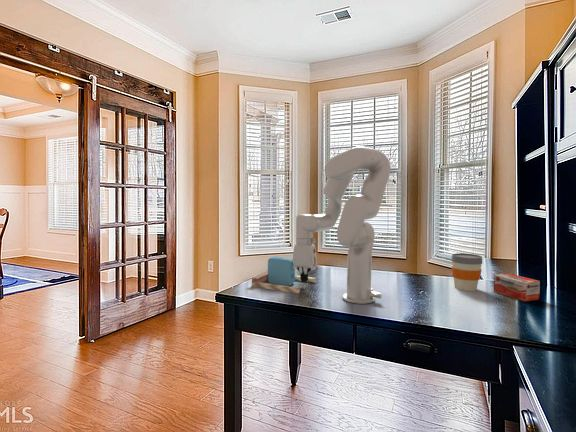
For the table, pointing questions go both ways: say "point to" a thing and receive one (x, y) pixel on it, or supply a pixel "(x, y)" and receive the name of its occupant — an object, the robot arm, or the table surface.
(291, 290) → the guide channel
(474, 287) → the reusable coffee cup
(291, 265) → the light blue square slab
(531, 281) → the medicine box
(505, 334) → the table surface
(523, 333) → the table surface
